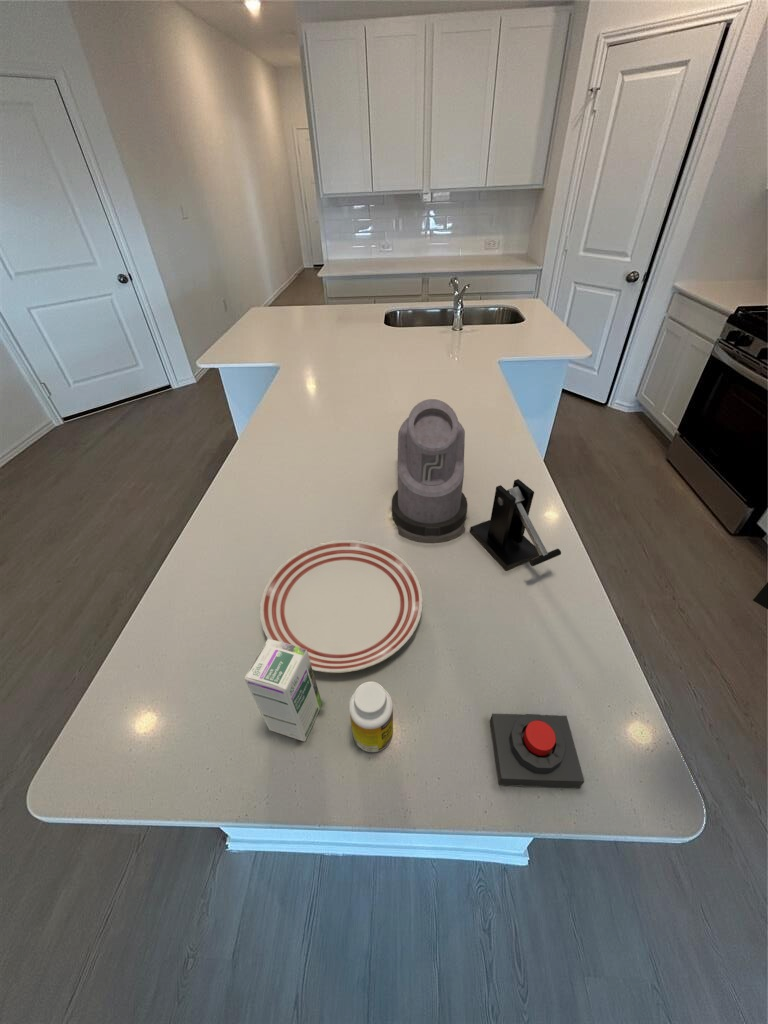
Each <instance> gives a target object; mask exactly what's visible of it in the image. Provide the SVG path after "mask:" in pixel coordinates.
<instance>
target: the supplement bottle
mask: <svg viewBox="0 0 768 1024" xmlns="http://www.w3.org/2000/svg"><path fill="white" fill-rule="evenodd" d="M392 699H393V698H392V697H391V695H390V694H389V692H388V691H387V690H386V689H385V688H384V687H383V686H382V685H381V684H380V683H378V682H376V681H365V682H363V683H361V684H360V685H359V686H358V687H357V688H356V689H355V691H354V692H353V694H352V695H351V697H350V699H349V703H348V712H349V719H350V724H351V730H352V736H353V739H354V742H355V743H356V745H357V747H359V748H360V749H361V750H363V751H364V752H368V753H378V752H380V751H383V750H384V749H385V748H386V747H388V745H390V743H391V741H392V739H393V735H394V705H393V700H392Z"/></svg>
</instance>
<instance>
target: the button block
mask: <svg viewBox="0 0 768 1024" xmlns="http://www.w3.org/2000/svg"><path fill="white" fill-rule="evenodd" d="M532 721H542V722H545V723H546V724H548V725H549V726H550V727H551V728H552V729H553V731H554V733H555V736H556V742H555V745H554V747H553V749H552V750H551V752H550V753H549V754H547V755H545V756H539V755H536V754H533V753H532V752H531V751H530V750H528V748H527V747H526V745H525V743H524V739H523V736H524V732H525V730H526V727H527V725H528V724H529V723H530V722H532ZM489 723H490V724H489V725H490V731H491V737H492V746H493V753H494V760H495V767H496V775H497V782H498V785H499V786H516V787H517V786H518V787H519V786H520V787H545V788H546V787H547V788H570V789H571V788H573V789H574V788H575V789H580V788H581V787H582V785H583V784H584V783H585V778H584V774H583V771H582V767H581V764H580V760H579V757H578V753H577V749H576V745H575V741H574V737H573V735H572V730H571V728H570V723H569V720H568V716H567V715H559V714H558V715H557V714H556V715H553V714H539V713H536V714H535V713H526V714H525V713H524V714H523V713H522V714H521V713H520V714H519V713H491V716H490V719H489Z"/></svg>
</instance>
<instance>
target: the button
mask: <svg viewBox="0 0 768 1024" xmlns="http://www.w3.org/2000/svg"><path fill="white" fill-rule="evenodd" d="M523 739H524V743H525V745H526V747H527V748H528V750H530V751H531V752H532V753H533V754H536V755H539V756H545V755H547V754H549V753H550V752H551V750H552V749H553V747H554V745H555V742H556V736H555V733H554V731H553V729H552V728H551V727H550V726H549V725H548V724H546V723H545V722H542V721H532V722H530V723H529V724H528V725H527V727H526V730H525V732H524V736H523Z"/></svg>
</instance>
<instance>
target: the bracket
mask: <svg viewBox="0 0 768 1024" xmlns="http://www.w3.org/2000/svg"><path fill="white" fill-rule="evenodd" d="M517 486H518V487H519V489H520V491H521V493H522V495H523V497H524V499H525V500H524V501H522V502H521V504H522V505H523V507H524V509H525V511H526V513H527V515H528V516H529V515H530V511H531V507H532V503H533V499H534V495H535V491H534V490H533V489H532V488H530V487H529V486H528V485H526V484H525V482H523V481H522V480H520V479H519V478H516V479H515V480H513V484H512V488H514V487H517ZM507 490H508V489H506V488H505V487H504V486H502V485H501V484H499V485H497V486H496V487H495V492H494V498H493V503H492V509H491V515H490V519H488V520H486V521H483V522H481V523H478V524H475V525H471V526H470V527H469V533H470V534H471V535H472V536H473V537H474V538H475V540H476V541H477V542H478V543H479V544H480V545H481V546H482V547H483V548H484V549H485V550H486V551H487V553H489V555H491V557H492V558H493V559H494V560H495V561H496V562H497V563H498V564H499V565H500V567H502V569H504V571H506V572H507V571H509V570H511V569H515V568H516V567H518V566H521V565H523V564H526V563H529V561H530V560H531V559H534V558H536V557H538V556H540V555H539V553H538V551H537V549H536V548H535V546H534V544H533V542H532V541H530V540H529V539H528V538H527V537H526V536H525V531H526V528H525V527H524V525H523V523H522V521H521V519H520V517H519V515H518V513H517V511H516V509H515V507H514V506H515V501H516V498H515V497H514V496H513V495H511V494H510V493H509V492H508V491H507Z"/></svg>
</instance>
